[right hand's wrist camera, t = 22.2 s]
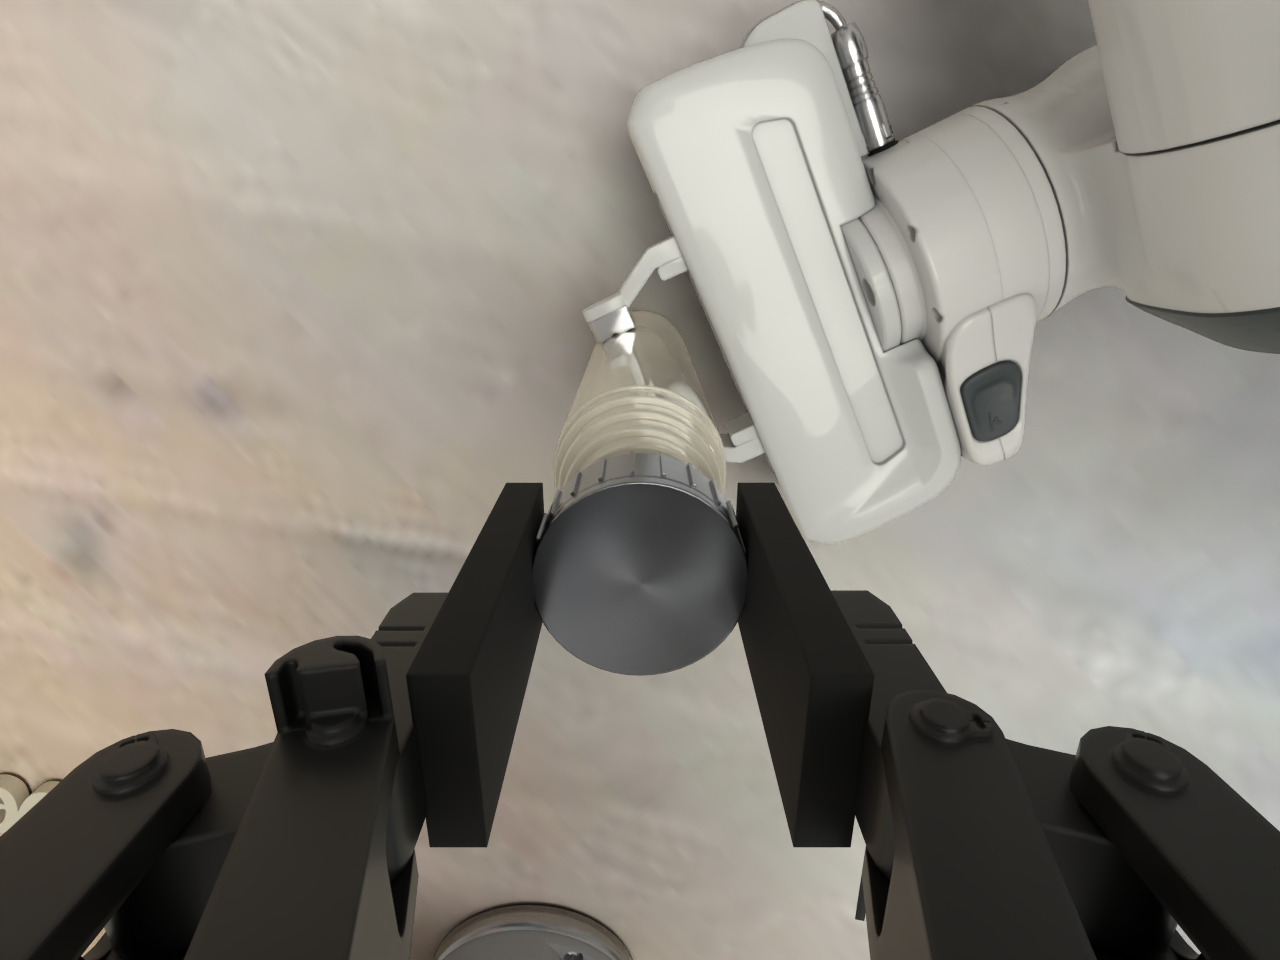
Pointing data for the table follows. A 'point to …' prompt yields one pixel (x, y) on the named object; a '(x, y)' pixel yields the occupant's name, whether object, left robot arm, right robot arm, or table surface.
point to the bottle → (640, 405)
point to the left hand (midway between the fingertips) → (621, 392)
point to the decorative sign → (18, 799)
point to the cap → (640, 565)
